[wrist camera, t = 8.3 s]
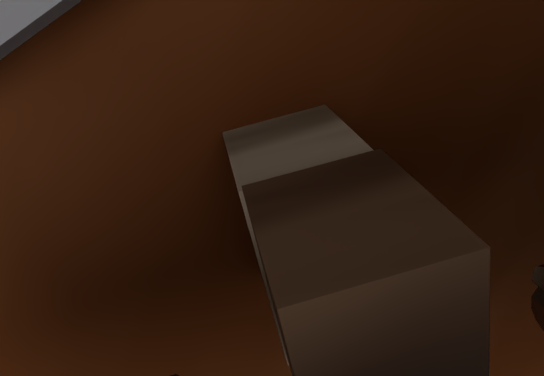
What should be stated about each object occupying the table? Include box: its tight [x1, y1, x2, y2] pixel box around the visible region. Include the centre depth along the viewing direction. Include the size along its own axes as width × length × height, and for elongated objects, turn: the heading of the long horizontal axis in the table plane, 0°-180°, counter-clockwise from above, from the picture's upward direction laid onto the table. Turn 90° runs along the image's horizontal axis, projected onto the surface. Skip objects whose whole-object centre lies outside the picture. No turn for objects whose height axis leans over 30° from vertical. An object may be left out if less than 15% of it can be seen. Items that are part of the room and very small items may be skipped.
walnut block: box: [241, 148, 490, 376], centre depth 11 cm, size 6×4×4 cm, turn 12°
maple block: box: [222, 104, 373, 366], centre depth 15 cm, size 6×4×4 cm, turn 13°
